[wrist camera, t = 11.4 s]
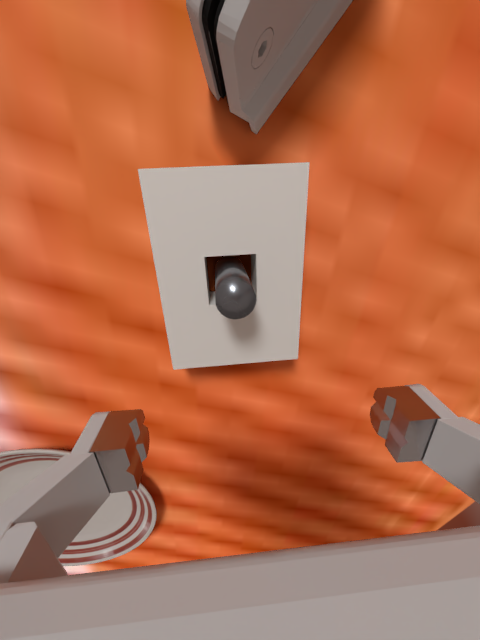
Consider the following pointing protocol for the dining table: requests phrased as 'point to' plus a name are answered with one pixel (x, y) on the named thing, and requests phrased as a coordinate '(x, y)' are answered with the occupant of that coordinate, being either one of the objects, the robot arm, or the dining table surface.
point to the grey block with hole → (223, 240)
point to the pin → (233, 288)
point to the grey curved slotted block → (259, 48)
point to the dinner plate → (105, 525)
